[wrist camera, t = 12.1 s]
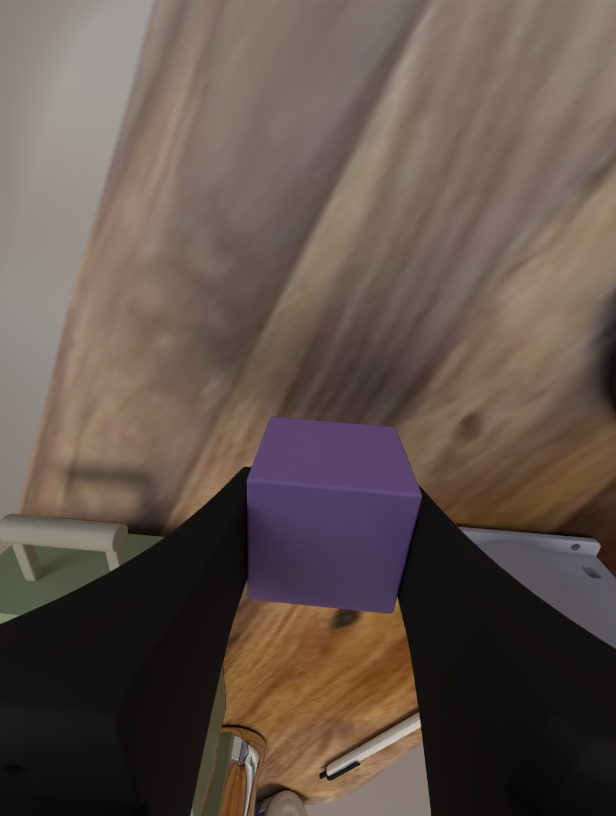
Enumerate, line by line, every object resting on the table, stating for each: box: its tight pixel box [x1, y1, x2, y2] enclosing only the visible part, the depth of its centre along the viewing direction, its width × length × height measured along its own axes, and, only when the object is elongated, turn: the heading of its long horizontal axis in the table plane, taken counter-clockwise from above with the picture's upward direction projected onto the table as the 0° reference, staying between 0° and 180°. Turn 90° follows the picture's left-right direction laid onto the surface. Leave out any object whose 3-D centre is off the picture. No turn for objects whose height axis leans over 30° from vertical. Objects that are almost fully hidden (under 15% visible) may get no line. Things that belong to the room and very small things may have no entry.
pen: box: [319, 712, 421, 781], centre depth 31 cm, size 1×19×1 cm, turn 144°
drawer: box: [0, 514, 164, 624], centre depth 21 cm, size 17×11×6 cm
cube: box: [247, 417, 422, 614], centre depth 11 cm, size 4×4×4 cm
